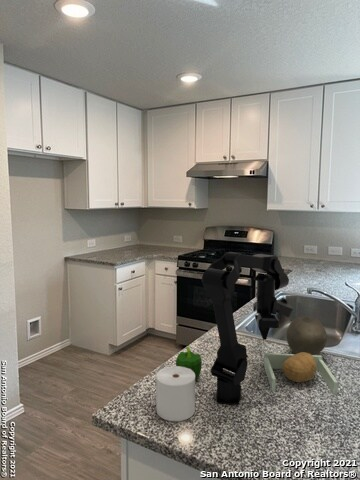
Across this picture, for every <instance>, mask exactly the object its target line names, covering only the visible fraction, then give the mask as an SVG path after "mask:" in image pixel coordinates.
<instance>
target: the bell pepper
mask: <svg viewBox="0 0 360 480" xmlns="http://www.w3.org/2000/svg"><path fill="white" fill-rule="evenodd" d="M185 349H186V352H183V351H181V352H179V353H178V355H177V357H176V359H175V366H180V367H185V368H189V369H191V370H192V371H193V372H194V373H195V382H196V381H197V380H198V379H199V378H200V375H201V371H202V366H203V364H202V363H203V362H202V357H201V354H199V353H195V352H193V351H191V348H190V346H186V347H185Z"/></svg>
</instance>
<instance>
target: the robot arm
mask: <svg viewBox="0 0 360 480" xmlns="http://www.w3.org/2000/svg"><path fill="white" fill-rule="evenodd" d="M228 267H232V270H231V271H230V270H225V269H226V268H228ZM241 268H250V269H252V270H253V271H256V272H258V273H257V274H256V276H255V277H254V278H253V280H254V282H255V281H256V293H255V298H256V301H255V302H254V303H252V310H253V312H256V314H255V315H254V319H255V321H256V324H257V327H258V330H259V331H260V335H261V339H262V340H263V341H265V340H267V338H268V335H269V333H270V332H269V331H270V329H279V328H280V320H279V318H278V317H277V316H276V315H277V314H280V315H283V316H285V317H286V318H290V317H291V315H292V313H293V310H294V307H293V306H292V305H291V304H289V303H288V300H287V299H286V298H284V297H281V298H280V299H277V298H276V294H275V293H276V291H277V290H280V289H283V288H286V287H287V286H288V285H289V283H290V278H289V276H288V274H287V273H285V270H284V269H285V268H283V267H282V264H281V262H280V260H279V257H278V256H277V255H273V254H272V255H271V254H264V253H257V254H253V255H250V254H249V255H248V254H242V253H241V252H233V251H228V252H225V253H224V254H223V255H222V256H221V258H218V259H217V260H216V261H214V262H212V263H211V264H209V266H208V267H207V268H206V270H204V272H203V274H202V277H201V283H202V286H203V289H204V292H205V293H206V296H208V298H209V299H210V300H211V301H212V305H213V311H214V316H215V322H216V327H217V332H218V338H219V343H220V345H219V348H217V349H218V350H217V351H216V358H215V360H214V361H213V362H214V363H213V364H212V366H211V369H210V374H211V376H212V377H215V378H216V390H215V391H216V393H215V394H216V397H215V398H216V401H215V403H216V404H224V405H225V404H226V405H240V400H241V398H242V382H244V381H245V379H246V373H247V369H248V359H249V356H248V354H247V346H246V345H245V344H243V343H239V341H238V336H237V331H236V330H237V329H236V326H235V325H236V324H235V317H234V312H233V307H232V300H231V299H232V296H233V293H234V292H235V290H236V289H235V286H236V285H235V284H236V283H237V282H238V280H239V279H240V274H241V270H240V269H241Z"/></svg>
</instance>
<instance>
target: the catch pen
mask: <svg viewBox="0 0 360 480" xmlns="http://www.w3.org/2000/svg"><path fill="white" fill-rule="evenodd" d="M292 355H295V354H294V353H271V352H264V361H263V362H264V363H263V364H264V365H263V367H264V370H265V373H266V377H267V380H268V383H269V386H270V387H269V388H270V390H271V392H273V393H275V392H276V386H277V385H276V382H277V381H276V376H275V374H274V371H273V369H275V370H278V369H279V370H283V369H282V365H283V363H284V361H285V360H286V359H287V358H289V357H290V356H292ZM312 356H313V357H314V359H315V361H316V369H317V371H316V372H319V374H320V375H321V377H322V380H323V381H324V382H325V383H326V385H327V388H328V389H330V392H331V393H332V395H333V396H338V392H339V391H338V389H339V382H338V380H337V379H336V377H335V376H334V374H333V373H332V372H331V370H330V369H329V368H328V366H327V365H326V363H325V362H324V360H323V355H319V354H316V355H312Z"/></svg>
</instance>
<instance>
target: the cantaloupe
mask: <svg viewBox="0 0 360 480" xmlns="http://www.w3.org/2000/svg"><path fill="white" fill-rule="evenodd" d="M286 341H287V344H288V347H289V348H290V350H291V352H292V354H298V353H301V352H305V353H309V354H311V355H319V354H320V353H321V352H322V351H323V350H324V349H325V348H326V345H327V341H328V334H327V331H326V328H325V327H324V325H323V323H321V321H320V320H319V319H317V318H315V317H312V316H309V315H304V316H303V315H302V316H298V317H296V318H294V319H293V320H292V321H291V322H290V323H289V325H288V326H287V330H286Z"/></svg>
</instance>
